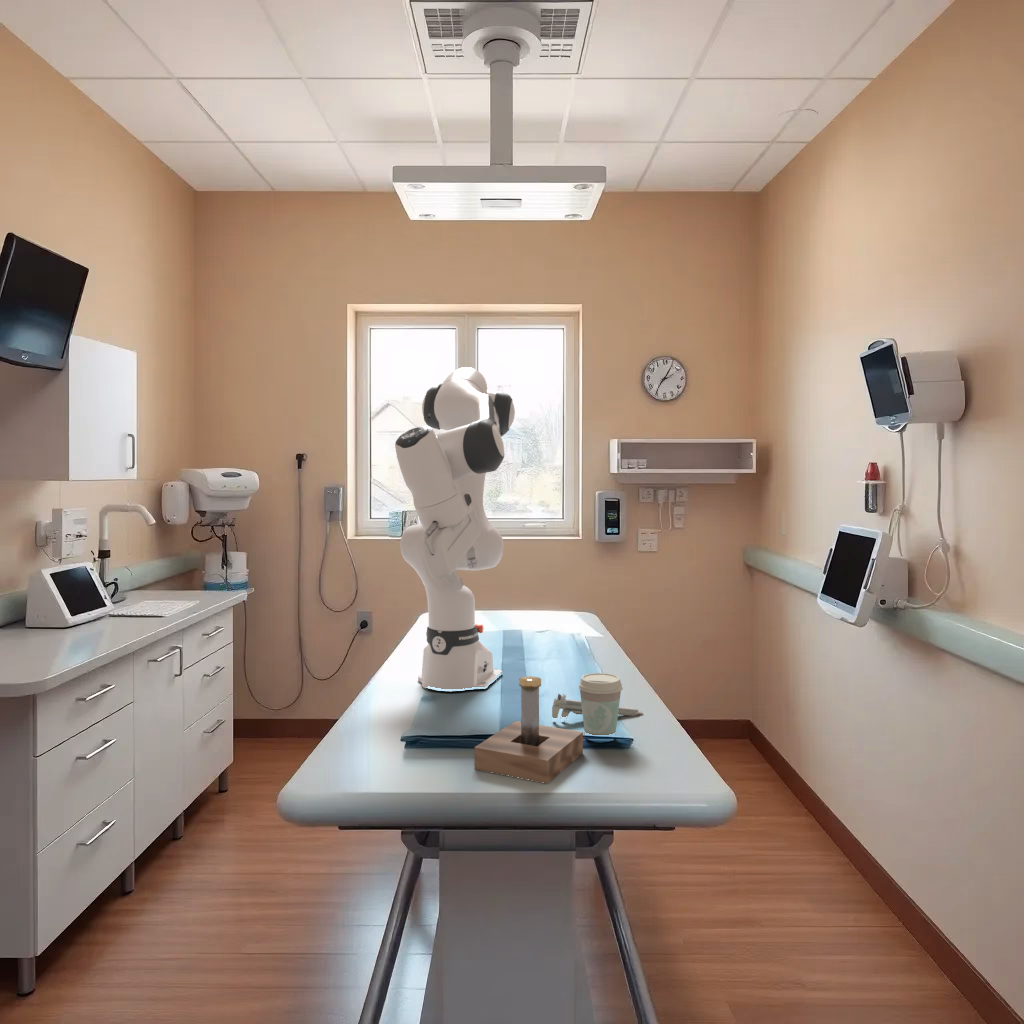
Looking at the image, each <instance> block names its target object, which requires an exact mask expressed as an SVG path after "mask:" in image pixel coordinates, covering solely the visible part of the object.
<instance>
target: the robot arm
mask: <svg viewBox="0 0 1024 1024" xmlns="http://www.w3.org/2000/svg"><path fill="white" fill-rule="evenodd" d="M487 385H488V384H487V381H486V378H485V377H484V375H483V373H481V372H480V371H479V370H477V369H475V368H473V367H469V366H468V367H460V368H457V369H455V370H454V371H452V372H451V373H450V374H449V375H448V376H447V377H446V378H445V379H444V380H443V382H442V383H439V384H438V385H434V386H432V387H430V388H429V389H428V390H427V391H426V393H425V396H424V398H423V401H422V405H421V408H422V409H421V411H422V412H421V413H422V416H423V420H424V423H425V424H426V425H421V426H420V425H419V426H416V427H413V428H411V429H408V430H407V431H405V432H404V433H402V434H400V436H398V437H397V438H396V441H395V442H394V446H395V447H394V448H395V453H396V458H397V463H398V465H399V469H400V472H401V474H402V478H403V480H404V483H405V485H406V487H407V488H408V490H409V491H410V493H411V495H412V499H413V506H414V509H415V512H416V513H417V516H418V519H419V521H420V523H417V524H413V525H410V526H408V527H407V528H406V529H405V530H404V531H403V533H402V535H401V538H400V541H399V542H400V543H399V547H400V548H399V549H400V554H401V556H402V557H403V560H404V561H405V562H406V563H407V564H408V565H410V567H412V569H413V570H415V572H416V574H417V575H418V577H419V578H420V579H421V581H422V584H423V586H424V589H425V593H426V598H427V613H428V616H427V617H428V626H427V627H426V632H425V633H426V635H425V636H426V642H427V645H425V647H424V648H423V652H422V653H423V655H422V664H421V665H422V666H421V667H422V668H421V674H420V675H418V677H417V681H418V682H419V683H421V686H422V687H423V688H424V689H426V687H428V686H430V687H435V688H441V689H463V688H464V689H465V688H472V687H485V686H487V685H488V684H489V683H490V682H491V681H492V680H493V679H495V677H496V676H498V675H499V674H500V672H502V673H503V670H501V669H499V668H496V667H494V660H493V653H492V652H491V650H489V649H488V648H487V646H485V645H484V644H483V643H482V642H481V641H480V636H479V634H483V632H484V629H485V628H484V624H476V622H475V621H476V614H475V613H476V610H475V609H476V606H475V605H476V603H475V602H476V601H475V600H476V599H475V595H474V593H473V592H472V590H471V589H470V588H469V587H468V586H466V585H465V583H464V581H463V578H462V577H459V576H458V574H457V573H458V571H459V570H461V571H480V570H481V571H482V570H487V569H493V568H495V567H496V566H497V565H499V563H500V562H501V559H502V558H503V555H504V550H505V542H504V539H503V537H502V534H501V533H500V531H499V530H498V529H497V528H496V527H494V525H492V523H491V522H490V521H489V519H488V517H487V515H486V511H485V508H484V492H485V490H484V489H485V481H486V475H487V474H486V473H491V472H495V471H497V470H498V468H499V467H500V465H501V464H502V463H503V460H504V458H505V446H504V441H503V438H502V437H504V435H506V434H507V433H508V432H509V431H510V428H511V426H512V425H513V423H514V420H515V414H516V411H515V405H514V402H513V399H512V396H511V395H510V394H508V393H505V392H504V391H501V390H500V391H499V390H497V391H494V390H489V389H488V386H487ZM433 429H435V430H443V431H441V432H437V433H435V431H434V430H433ZM493 669H498V670H493Z"/></svg>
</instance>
